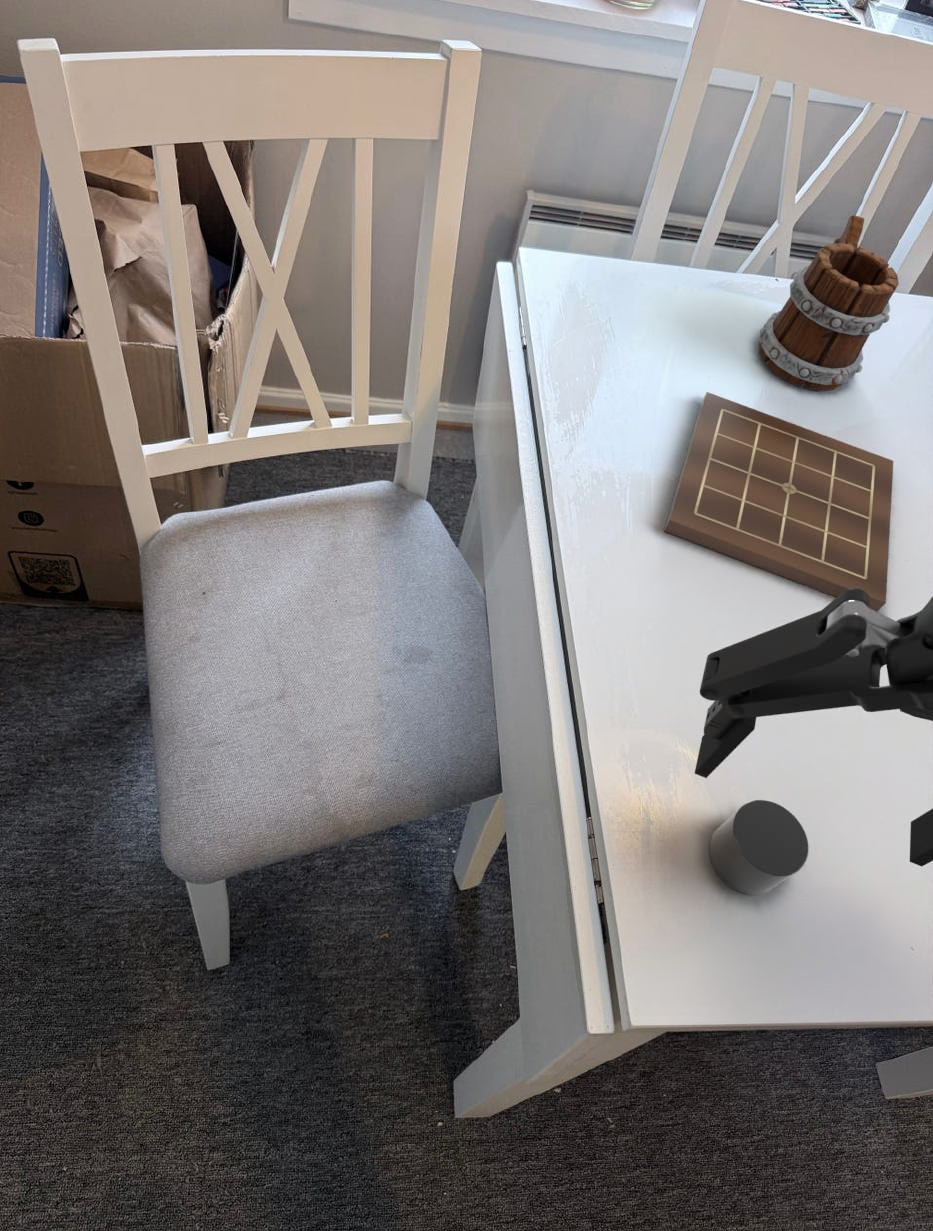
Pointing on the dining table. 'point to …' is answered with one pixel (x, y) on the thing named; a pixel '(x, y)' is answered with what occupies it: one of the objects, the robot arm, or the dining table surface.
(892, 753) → the dining table surface
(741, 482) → the board
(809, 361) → the mug
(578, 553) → the dining table surface
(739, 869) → the dark grey puck
